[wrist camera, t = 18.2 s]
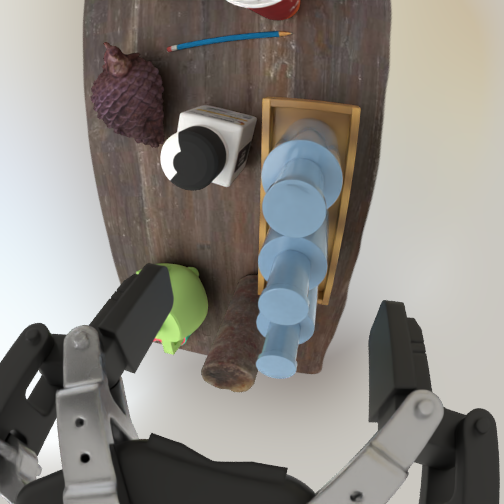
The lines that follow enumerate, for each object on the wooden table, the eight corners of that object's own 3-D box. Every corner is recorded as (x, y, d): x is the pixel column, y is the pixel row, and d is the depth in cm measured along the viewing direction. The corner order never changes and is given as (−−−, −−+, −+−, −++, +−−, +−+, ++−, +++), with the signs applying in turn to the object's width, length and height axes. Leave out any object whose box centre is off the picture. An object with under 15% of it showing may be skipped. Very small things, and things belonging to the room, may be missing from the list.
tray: (278, 92, 34) (262, 98, 26) (352, 100, 33) (360, 108, 25) (271, 252, 48) (257, 294, 40) (330, 260, 47) (327, 305, 38)
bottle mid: (272, 190, 33) (231, 280, 21) (323, 180, 31) (316, 270, 18) (285, 234, 36) (256, 337, 23) (333, 227, 34) (330, 332, 21)
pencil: (168, 46, 33) (166, 46, 33) (293, 30, 29) (292, 30, 29) (169, 51, 34) (167, 51, 33) (293, 36, 30) (293, 35, 29)
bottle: (281, 167, 32) (243, 246, 19) (283, 115, 28) (242, 155, 16) (334, 174, 31) (337, 260, 18) (340, 121, 27) (353, 167, 14)
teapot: (138, 236, 53) (99, 277, 43) (205, 240, 50) (172, 288, 40) (163, 314, 64) (137, 357, 54) (220, 324, 61) (200, 373, 51)
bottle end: (269, 246, 38) (234, 348, 25) (315, 239, 36) (301, 345, 23) (281, 283, 40) (255, 384, 28) (324, 278, 38) (313, 384, 25)
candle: (247, 262, 51) (207, 358, 34) (287, 280, 51) (263, 381, 35) (233, 292, 55) (194, 382, 39) (269, 308, 55) (242, 402, 39)
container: (258, 117, 37) (228, 137, 26) (245, 168, 42) (213, 207, 31) (204, 103, 37) (156, 120, 27) (194, 154, 42) (149, 187, 31)
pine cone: (200, 127, 39) (146, 169, 36) (163, 129, 46) (117, 165, 42) (148, 19, 27) (80, 52, 23) (118, 40, 33) (62, 71, 29)
